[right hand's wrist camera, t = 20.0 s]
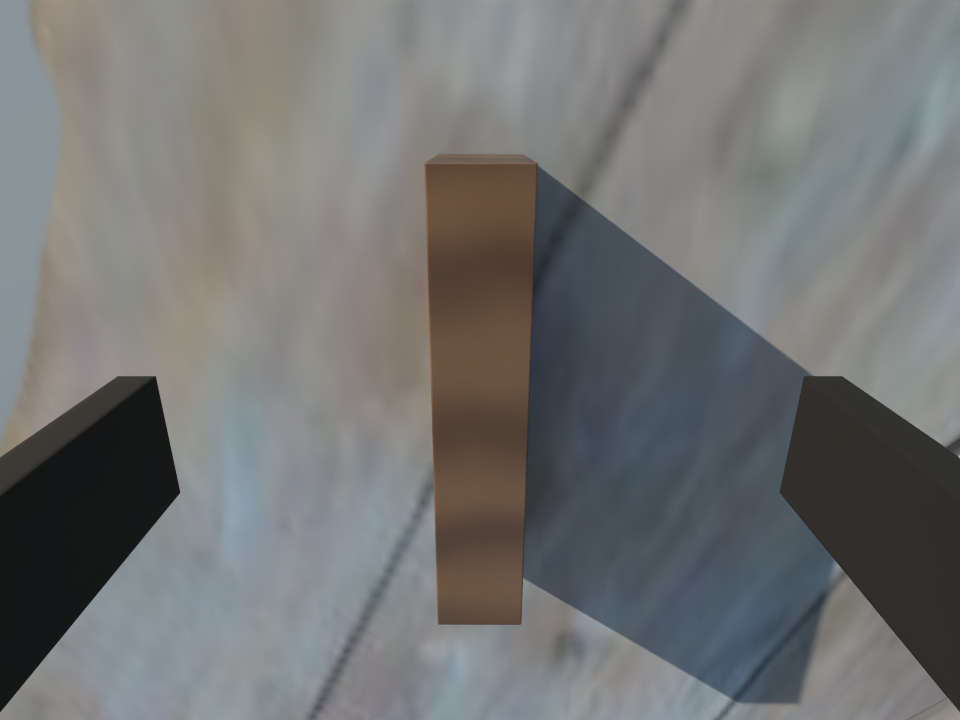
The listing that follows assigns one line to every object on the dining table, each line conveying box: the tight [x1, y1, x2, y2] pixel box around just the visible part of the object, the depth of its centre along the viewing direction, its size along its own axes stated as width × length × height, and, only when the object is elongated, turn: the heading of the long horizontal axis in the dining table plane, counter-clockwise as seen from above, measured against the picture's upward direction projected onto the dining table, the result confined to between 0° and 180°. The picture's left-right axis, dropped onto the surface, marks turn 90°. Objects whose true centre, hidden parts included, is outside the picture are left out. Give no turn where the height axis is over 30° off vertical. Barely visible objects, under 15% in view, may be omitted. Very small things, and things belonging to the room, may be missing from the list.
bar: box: [425, 154, 538, 625], centre depth 37 cm, size 28×5×9 cm, turn 0°
